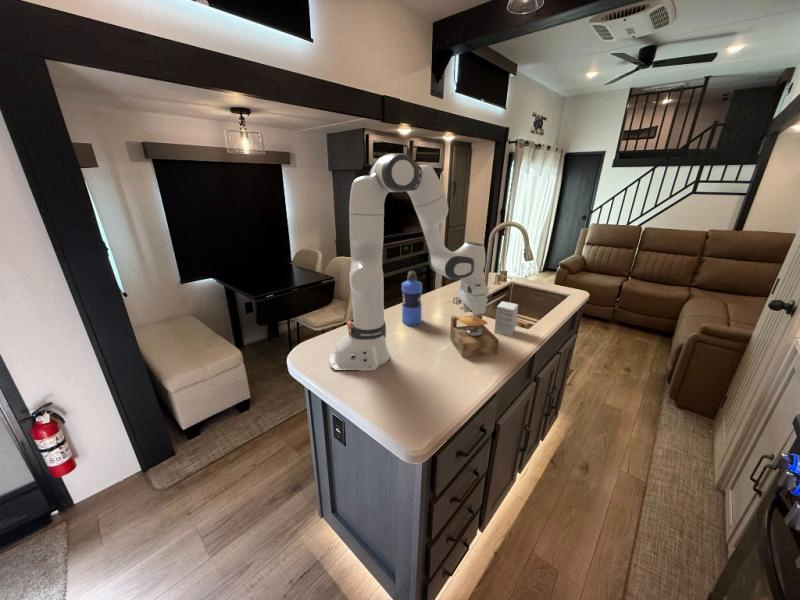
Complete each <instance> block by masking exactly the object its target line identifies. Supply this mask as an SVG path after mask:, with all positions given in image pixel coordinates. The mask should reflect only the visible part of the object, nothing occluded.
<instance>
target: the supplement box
mask: <svg viewBox="0 0 800 600" xmlns="http://www.w3.org/2000/svg"><path fill="white" fill-rule="evenodd" d="M518 310H519V303H518V304H517V303H513V302H509V301H503V300H502V301H501V302H500V303H499V304H498V305H497V306H496V312H495V319H494V320H495V321H494V331H493V332H494V334H499V335H503V336H506V337H510V336H511V337H512V336H513V334H514V332H515V331H516V325H517V317H518Z"/></svg>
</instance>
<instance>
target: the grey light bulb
mask: <svg viewBox="0 0 800 600" xmlns="http://www.w3.org/2000/svg"><path fill="white" fill-rule="evenodd" d="M466 335H468V336H470V337H480V336H482V329H481V328H478V327H467V328H466Z"/></svg>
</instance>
